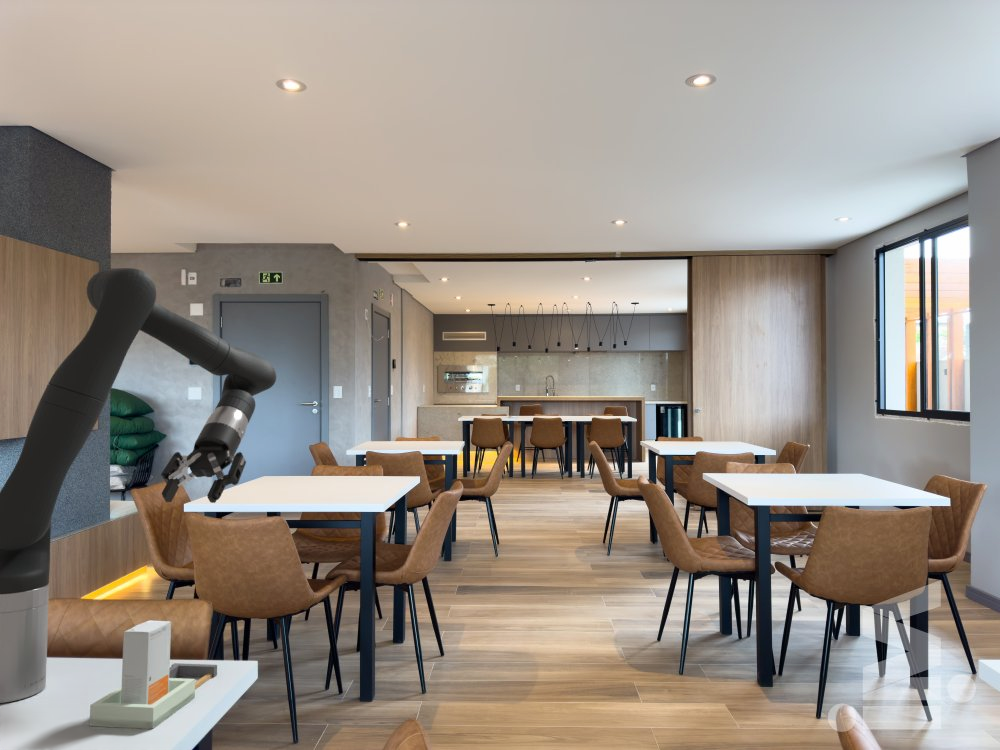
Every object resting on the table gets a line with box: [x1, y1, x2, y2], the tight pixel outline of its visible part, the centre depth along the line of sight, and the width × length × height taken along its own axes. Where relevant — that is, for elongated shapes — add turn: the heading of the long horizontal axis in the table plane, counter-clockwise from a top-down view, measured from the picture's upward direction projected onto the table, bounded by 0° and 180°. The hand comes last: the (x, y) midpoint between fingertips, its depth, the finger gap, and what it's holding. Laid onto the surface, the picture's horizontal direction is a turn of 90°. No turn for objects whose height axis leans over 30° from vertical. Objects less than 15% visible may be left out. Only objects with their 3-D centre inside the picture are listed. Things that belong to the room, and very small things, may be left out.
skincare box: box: [121, 619, 172, 705], centre depth 106 cm, size 6×4×12 cm
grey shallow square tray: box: [169, 662, 218, 690], centre depth 116 cm, size 8×9×2 cm
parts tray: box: [89, 677, 196, 730], centre depth 106 cm, size 10×11×3 cm
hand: (188, 499), depth 123 cm, fingers open, 8 cm apart
